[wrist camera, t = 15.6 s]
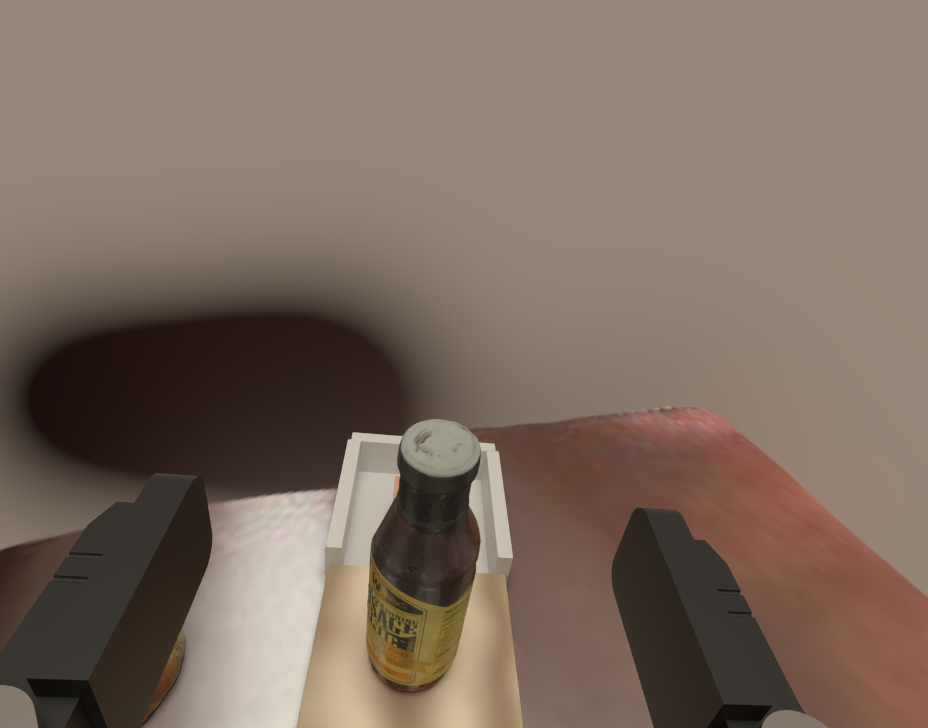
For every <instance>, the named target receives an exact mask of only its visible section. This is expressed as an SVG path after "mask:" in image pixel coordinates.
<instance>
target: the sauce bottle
mask: <svg viewBox="0 0 928 728" xmlns="http://www.w3.org/2000/svg"><path fill="white" fill-rule="evenodd" d="M480 458H481V448H480V444H479V441H478V439H477V438H476V437H475V436H474V435H473V434H472V433H471V432H470V431H469V430H468V429H467V428H466V427H464V426H462V425H460V424H458V423H456V422H452V421H446V420H441V419H433V420H426V421H422V422H418V423H417V424H415V425H413V426H412V427H410V428H409V429H408V430H407V431H406V432H405V434H404V435H403V437H402V439H401V442H400V444H399V450H398V456H397V466H398V469H399V472H400V479H399V489H398V492H397V495H396V497H395V499H394V501H393V502H392V504H391V506H390V508H389V510H388V511H387V513H386V515H385V517H384V519H383V520H382V522H381V524H380V526H379V527H378V529H377V531H376V533H375V534H374V536H373V538H372V542H371V551H370V569H369V584H368V601H367V608H368V609H367V629H366V645H367V650H368V654H369V659H370V662H371V665H372V668H373V671H374V672H375V673H376V674H377V675H378V676H379V677H380V678H381V679H382V680H383V681H384V682H385V683H387V684H388V685H390V686H392V687H393V688H395V689H397V690H399V691H407V692H409V691H417V690H422V689H428V688H429V687H432V686H434V685H435V684H436V683H437V682H438V681H439V680H440V679H441V678H442V677H443V676H444V675H445V673H446V672H447V670H448V669H449V668H450V666H451V665H452V663H453V661H454V659H455V656H456V653H457V649H458V645H459V641H460V637H461V633H462V629H463V624H464V620H465V616H466V612H467V607H468V603H469V599H470V595H471V591H472V587H473V583H474V579H475V574H476V562H477V560H478V556H479V551H480V543H481V539H480V531H479V526H478V523H477V520H476V518H475V515H474V514H473V512H472V510H471V508H470V506H469V501H470V500H469V494H470V489H471V484H472V482H473V481H474V480H475V478H476V476H477V474H478V470H479V465H480Z"/></svg>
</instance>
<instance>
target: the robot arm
mask: <svg viewBox="0 0 928 728" xmlns="http://www.w3.org/2000/svg"><path fill="white" fill-rule="evenodd" d="M211 548H212V530H211V523H210V517H209V510H208V504H207V498H206V491H205V485H204V481H203V479H202V477H200V476H186V475H171V474H154V475H153V476H152V477H151V478H150V479H149V480H148V482H147V484H146V485H145V486H144V488H143V490H142V491H141V493H140V495H139V496H138V498H137V500H136V501H135V503H128V502H116V503H115V504H114V505H113V506H111V507H110V508H109V509H107V510H106V511H105V512H104V513H102V514H101V515H100V516H98V517H97V518H96V519H95V520H93V521H92V522H91V523H90V524H88V526H87V527H86V529H85V530H84V531H83V533H82V534H81V536H80V537H79V539H78V540H77V542H76V543H75V545H74V546H73V548H72V549H71V551H70V554H69V557H68V558H65V559H64V561H63V562H62V564H61V565H60V567H59V568H58V570H57V571H56V573H55V574H54V579H53V581H49V583H48V584H47V586H46V587H45V589H44V590H43V592H42V593H41V595H40V596H39V598H38V599H37V601H36V602H35V603H34V605H33V606H32V608H31V609H30V611H29V612H28V614H27V615H26V617H25V618H24V620H23V621H22V623H21V624H20V625H19V627H18V628H17V630H16V631H15V633H14V634H13V636H12V637H11V639H10V640H9V642H8V643H7V645H6V646H5V648H4V649H3V650H2V652H1V653H0V728H140V727H141V725H142V722H143V720H144V717H145V715H146V713H147V710H148V708H149V705H150V703H151V701H152V698H153V696H154V693H155V691H156V689H157V686H158V684H159V681H160V679H161V677H162V674H163V672H164V669H165V667H166V665H167V662H168V660H169V657H170V655H171V653H172V650H173V648H174V645H175V643H176V641H177V638H178V636H179V633H180V631H181V629H182V626H183V624H184V621H185V619H186V617H187V614H188V612H189V609H190V607H191V605H192V602H193V600H194V597H195V595H196V593H197V590H198V588H199V585H200V583H201V581H202V578H203V576H204V573H205V571H206V568H207V565H208V562H209V558H210V554H211ZM612 586H613V591H614V595H615V598H616V602H617V605H618V608H619V612H620V615H621V618H622V622H623V625H624V628H625V632H626V635H627V639H628V642H629V645H630V649H631V652H632V655H633V659H634V662H635V666H636V669H637V672H638V676H639V679H640V682H641V686H642V689H643V693H644V696H645V699H646V703H647V706H648V709H649V713H650V716H651V719H652V723H653V726H654V728H828V727H827V726H825V725H824V724H822V723H821V722H819V721H818V720H816V719H814V718H812V717H810V716H808V715H806V714H805V713H804V711H803V710H802V708H801V706H800V704H799V703H798V701H797V699H796V697H795V695H794V693H793V691H792V689H791V687H790V685H789V684H788V682H787V680H786V678H785V676H784V674H783V672H782V670H781V668H780V666H779V664H778V662H777V660H776V658H775V656H774V654H773V652H772V651H771V649H770V647H769V645H768V643H767V641H766V639H765V637H764V635H763V633H762V631H761V629H760V627H759V625H758V623H757V621H756V619H755V618H752V616H751V613H752V612H751V610H750V608H749V606H748V604H747V602H746V600H745V598H744V596H743V595H741V594H740V588H739V586H738V585H737V583H736V581H735V579H734V577H733V575H732V573H731V571H730V569H729V567H728V565H727V563H726V562H725V561H724V560H723V559H722V558H721V557H720V556H719V555H718V554H717V553H716V552H715V551H714V550H713V549H712V548H711V546H710V545H709V544H708V543H707V542H706V541H705V540H694V539H693V537H692V535H691V533H690V531H689V529H688V527H687V525H686V522H685V520H684V518H683V517H682V515H681V514H680V513H679V512H678V511H676V510H665V509H650V508H636V509H635V510H634V511H633V513H632V515H631V517H630V520H629V522H628V525H627V527H626V530H625V532H624V535H623V537H622V539H621V542H620V544H619V547H618V549H617V552H616V554H615V557H614V560H613V564H612Z"/></svg>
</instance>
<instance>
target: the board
mask: <svg viewBox="0 0 928 728" xmlns="http://www.w3.org/2000/svg"><path fill="white" fill-rule="evenodd" d="M369 569H370V567H365V566H348V565H330V564H329V568H328V573H327V578H326V583H325V588H324V593H323V598H322V603H321V608H320V614H319V619H318V624H317V629H316V634H315V639H314V644H313V649H312V654H311V659H310V664H309V669H308V674H307V679H306V684H305V689H304V694H303V699H302V704H301V709H300V714H299V719H298V724H297V728H523V723H522V715H521V706H520V698H519V689H518V681H517V672H516V664H515V655H514V647H513V638H512V630H511V621H510V613H509V604H508V596H507V587H506V579H505V574H488V573H476V574H475V579H474V583H473V587H472V591H471V595H470V599H469V603H468V607H467V612H466V616H465V620H464V624H463V629H462V633H461V637H460V641H459V645H458V649H457V653H456V656H455V659H454V661H453V663H452V665H451V666H450V668H449V669H448V670H447V672H446V673H445V675H444V676H443V677H442V678H441V679H440V680H439V681H438V682H437V683H436V684H435V685H434V686H432V687H429V688H428V689H422V690H417V691H409V692H407V691H399V690H397V689H395V688H393V687H392V686H390V685H388V684H387V683H385V682H384V681H383V680H382V679H381V678H380V677H379V676H378V675H377V674H376V673H375V672H374V671H373V668H372V665H371V662H370V659H369V654H368V650H367V645H366V629H367V609H368V608H367V601H368V584H369Z"/></svg>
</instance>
